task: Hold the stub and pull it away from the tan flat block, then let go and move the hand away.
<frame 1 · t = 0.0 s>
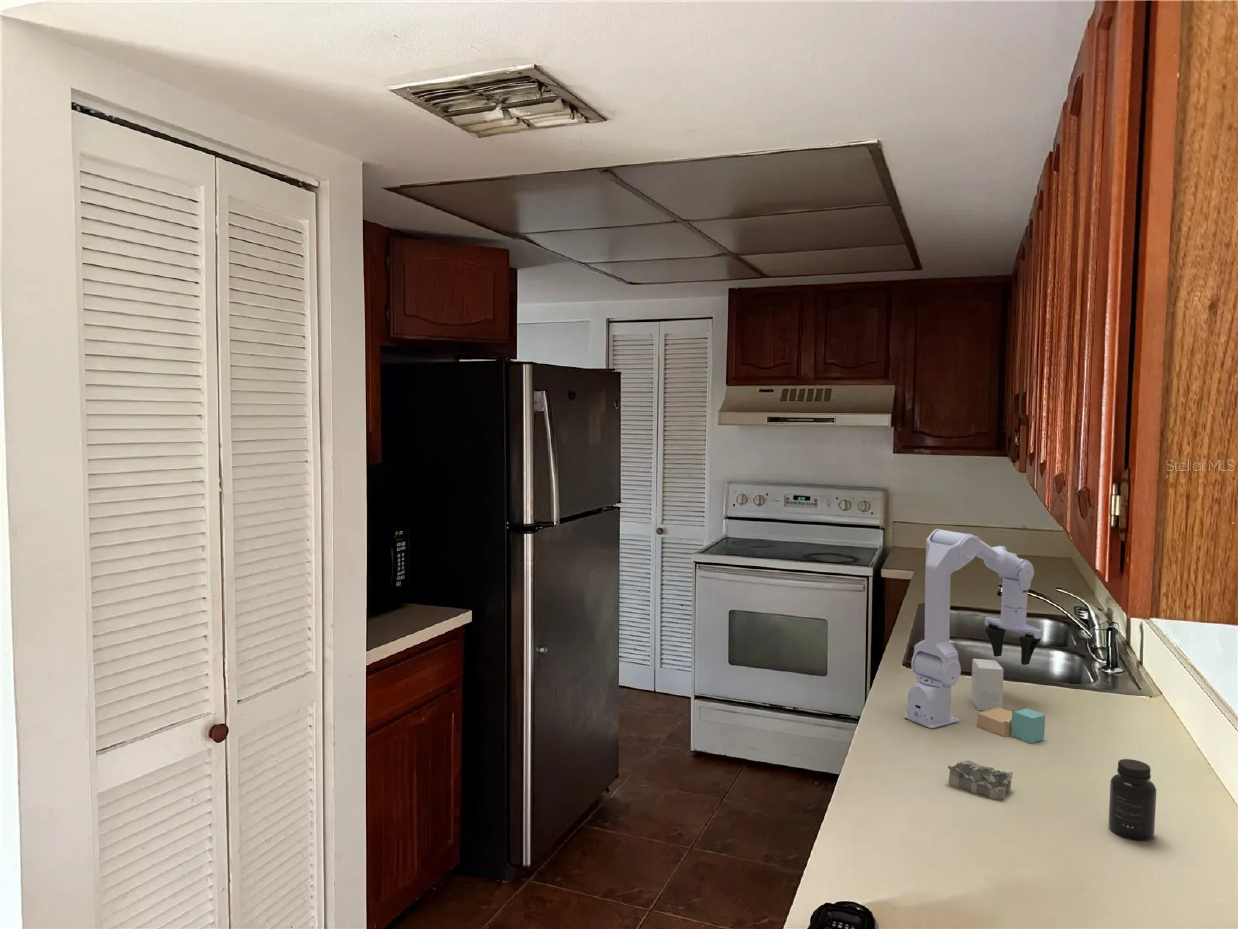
hand: (1011, 660, 212), 10 cm above the counter, fingers open, 7 cm apart
small box: (985, 706, 208), on the counter
stub: (1028, 725, 188), point 3 cm above the counter, slide at 0.0 cm
egg carton: (979, 789, 164), on the counter
supplement bottle: (1130, 833, 147), on the counter
tan flat block: (1001, 728, 194), on the counter
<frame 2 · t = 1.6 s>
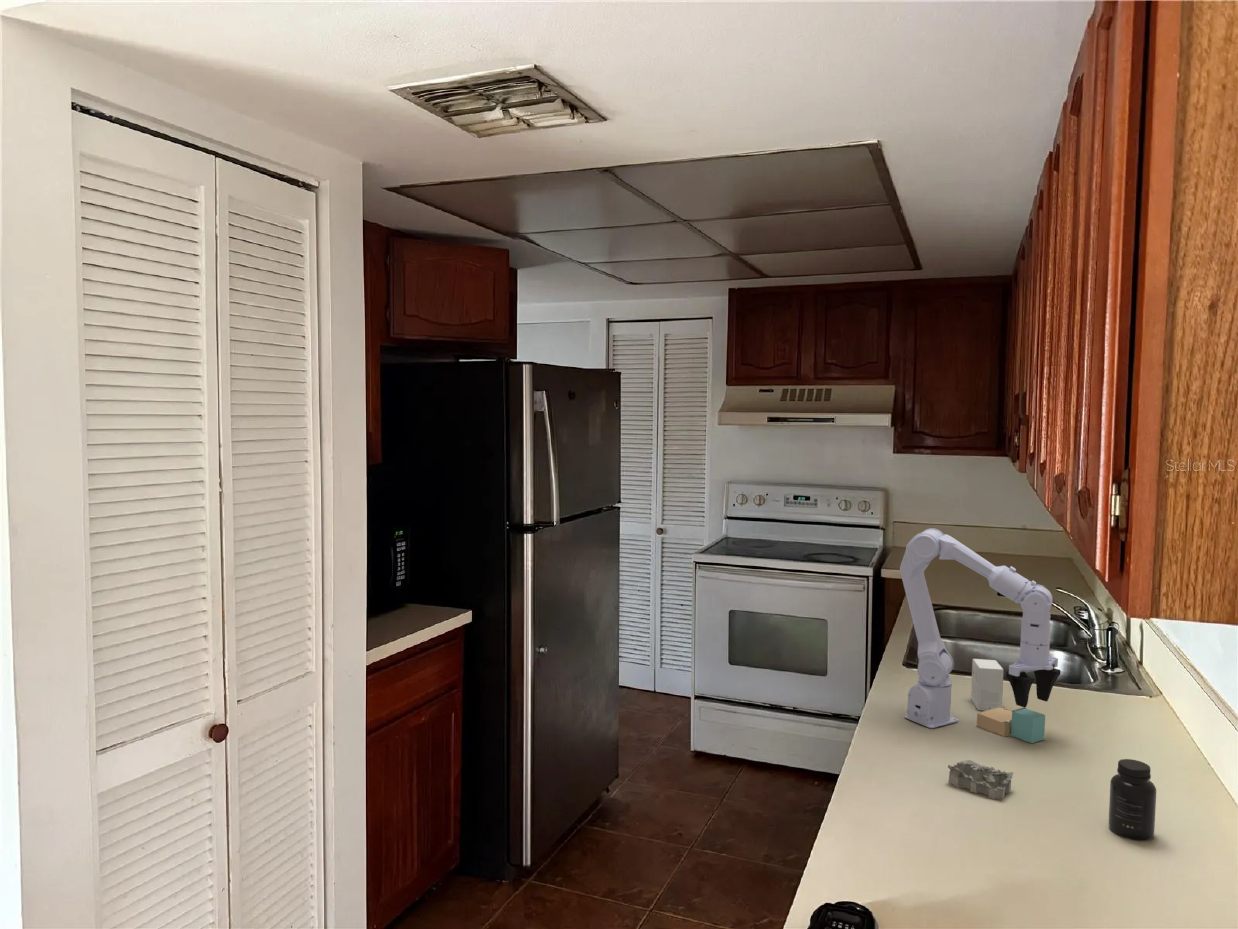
hand: (1031, 703, 187), 8 cm above the counter, fingers open, 7 cm apart
nothing on the counter moved.
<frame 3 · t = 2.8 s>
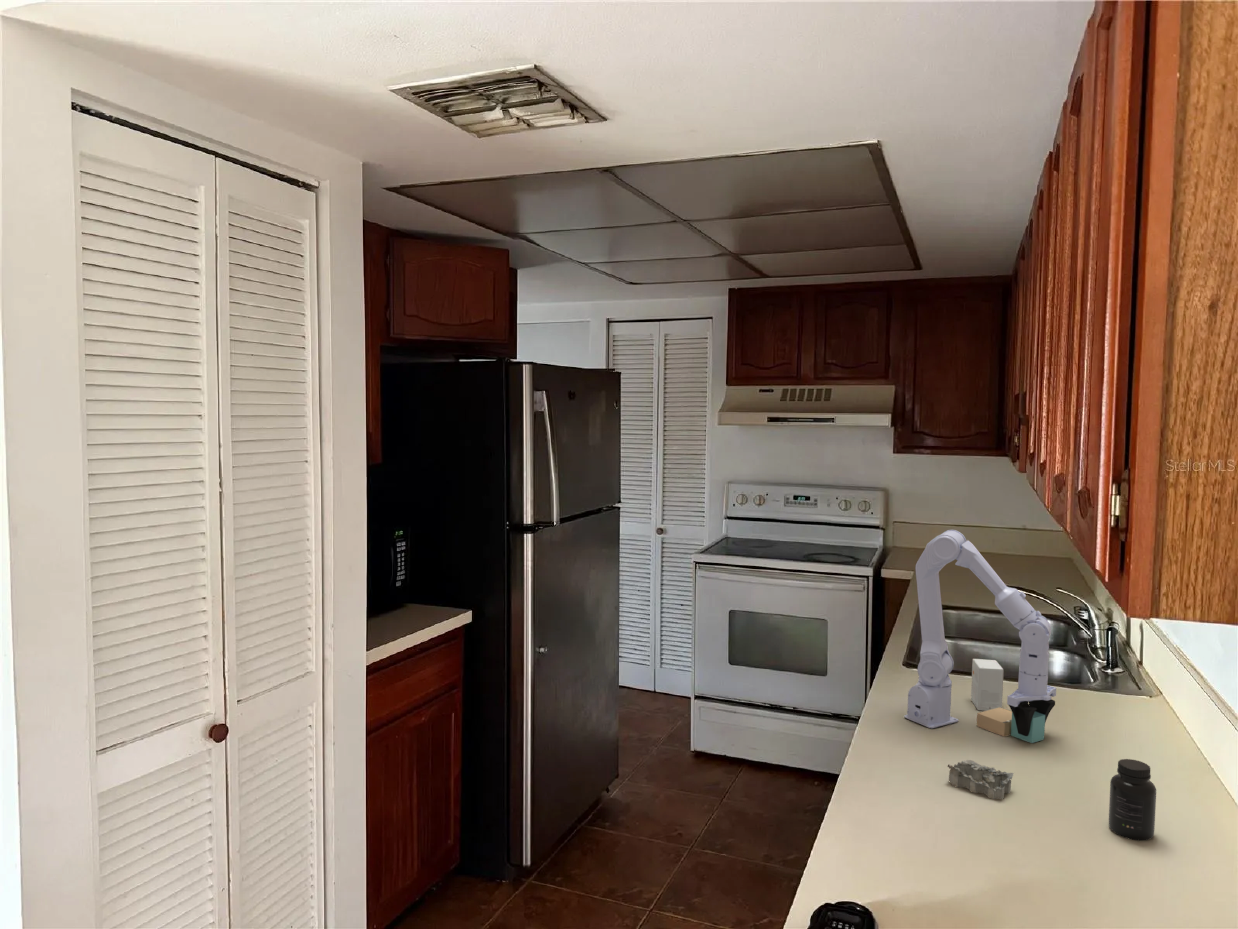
hand: (1030, 732, 188), 1 cm above the counter, fingers closed on stub, 4 cm apart
stub: (1028, 725, 188), point 3 cm above the counter, slide at 0.0 cm, touching gripper
everything else where it was.
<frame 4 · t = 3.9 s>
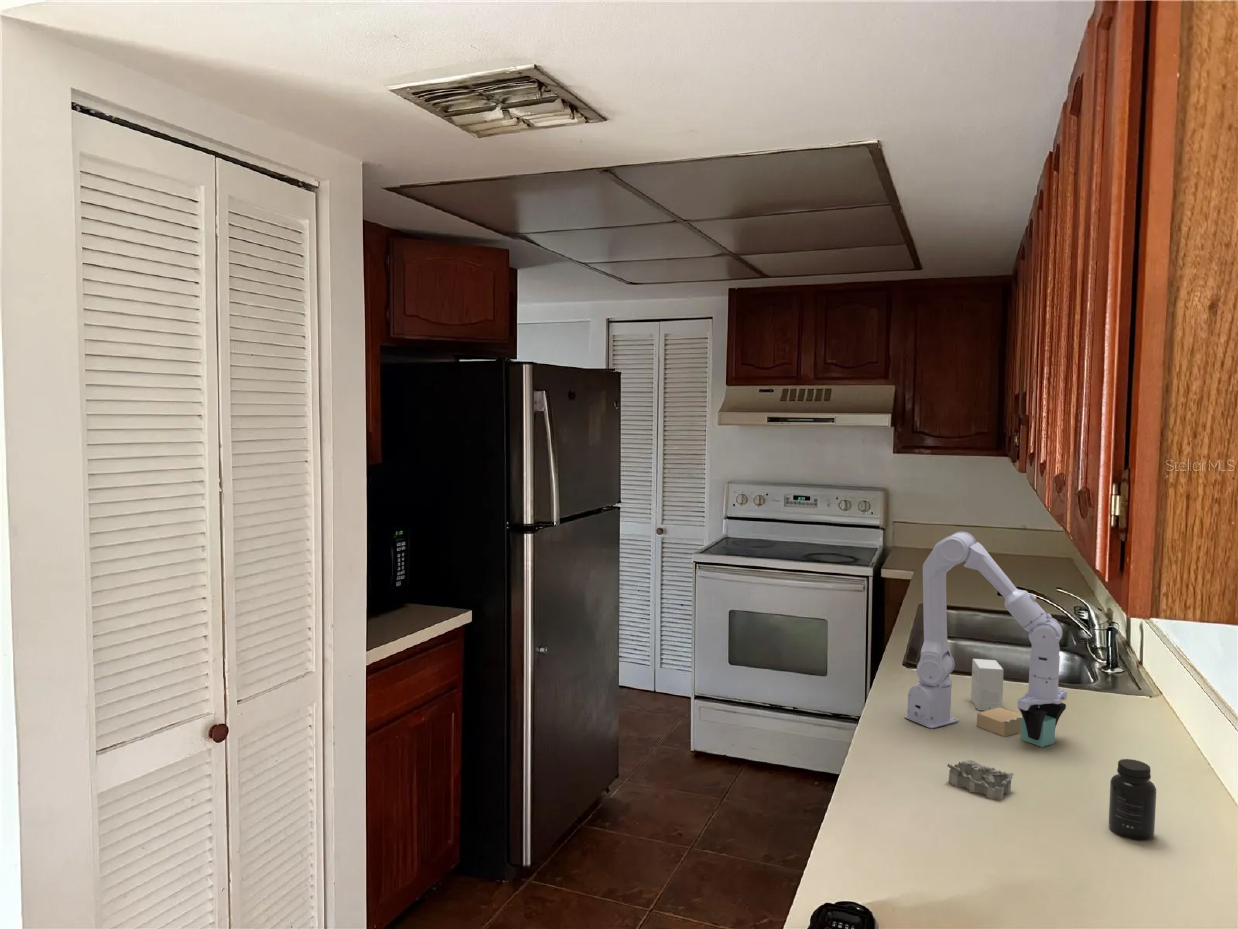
hand: (1040, 736, 186), 1 cm above the counter, fingers closed on stub, 4 cm apart
stub: (1038, 728, 186), point 3 cm above the counter, slide at 2.4 cm, touching gripper
everything else where it was.
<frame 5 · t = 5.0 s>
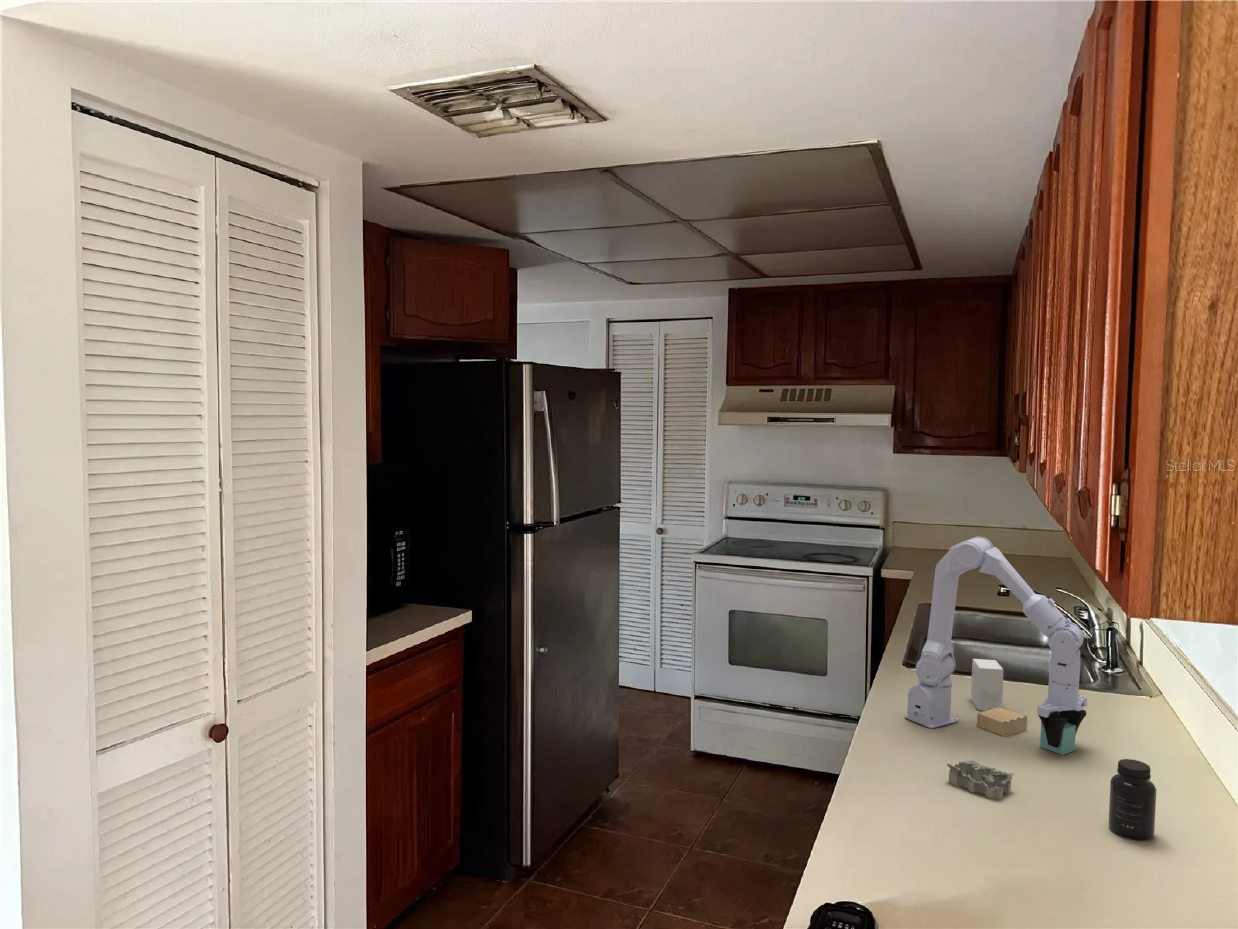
hand: (1060, 743, 182), 1 cm above the counter, fingers closed on stub, 4 cm apart
stub: (1057, 735, 182), point 3 cm above the counter, slide at 6.9 cm, touching gripper
everything else where it was.
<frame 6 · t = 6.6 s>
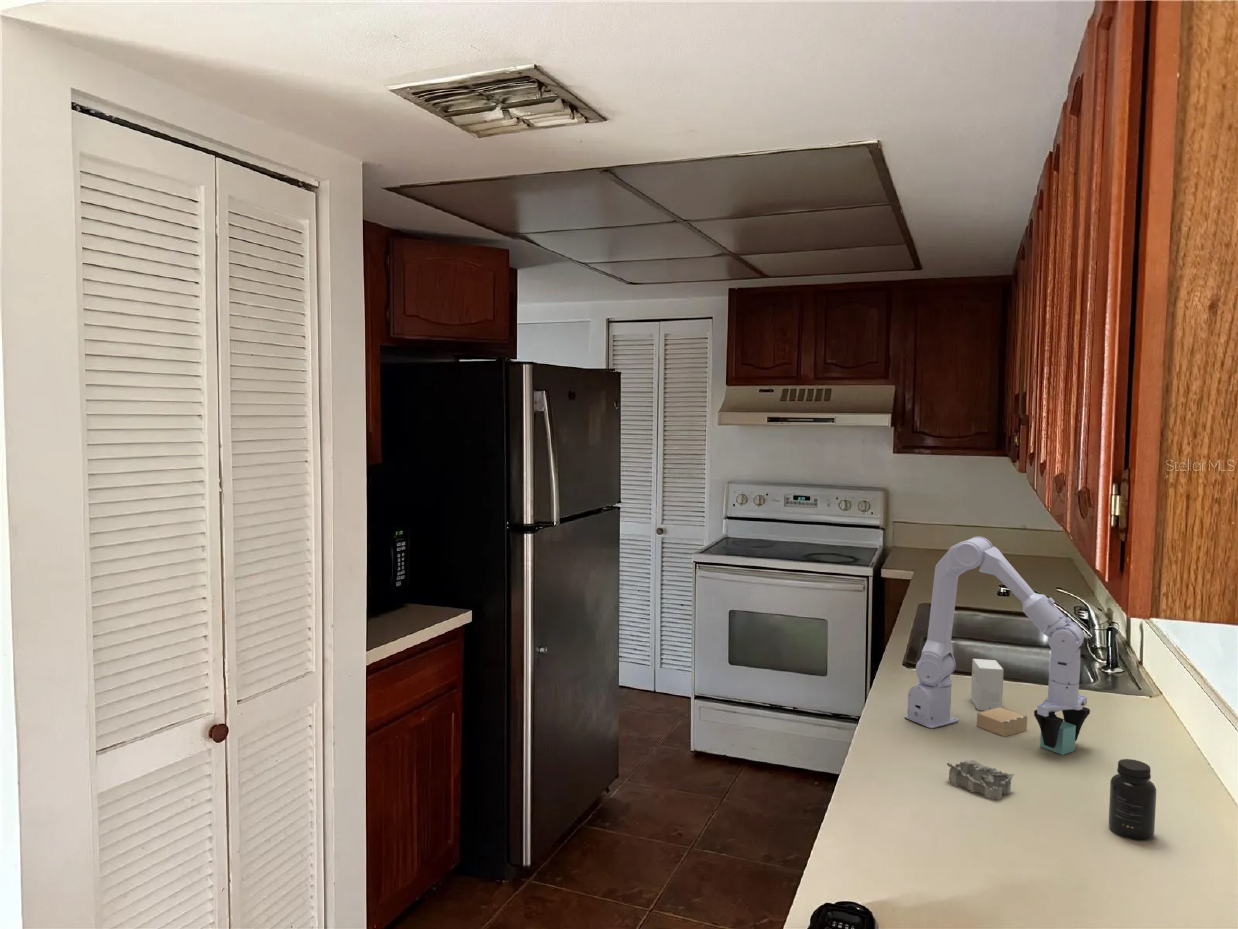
hand: (1060, 743, 182), 2 cm above the counter, fingers open, 7 cm apart
stub: (1057, 735, 182), point 3 cm above the counter, slide at 6.9 cm
everything else where it was.
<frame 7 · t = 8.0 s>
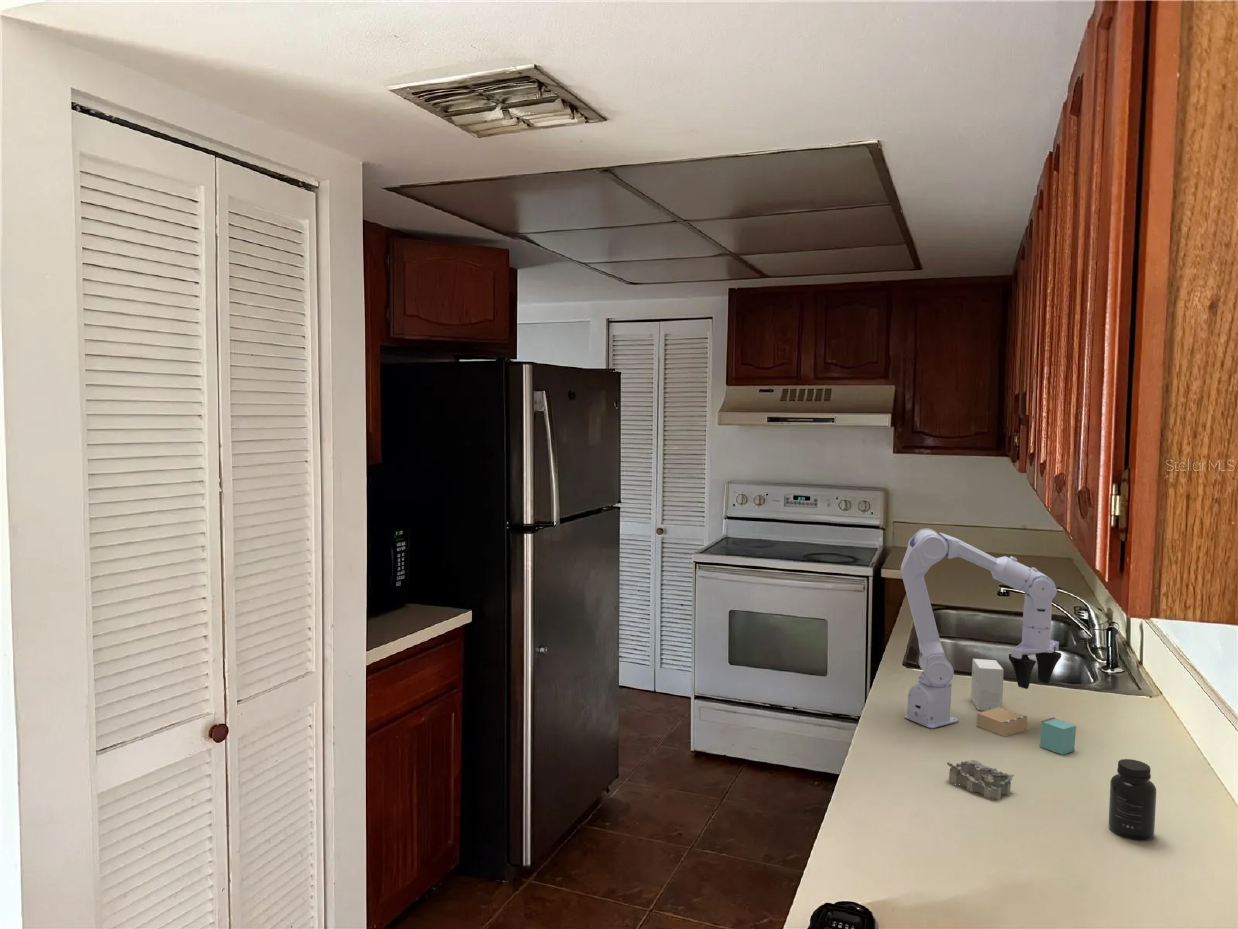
hand: (1033, 684, 194), 10 cm above the counter, fingers open, 7 cm apart
nothing on the counter moved.
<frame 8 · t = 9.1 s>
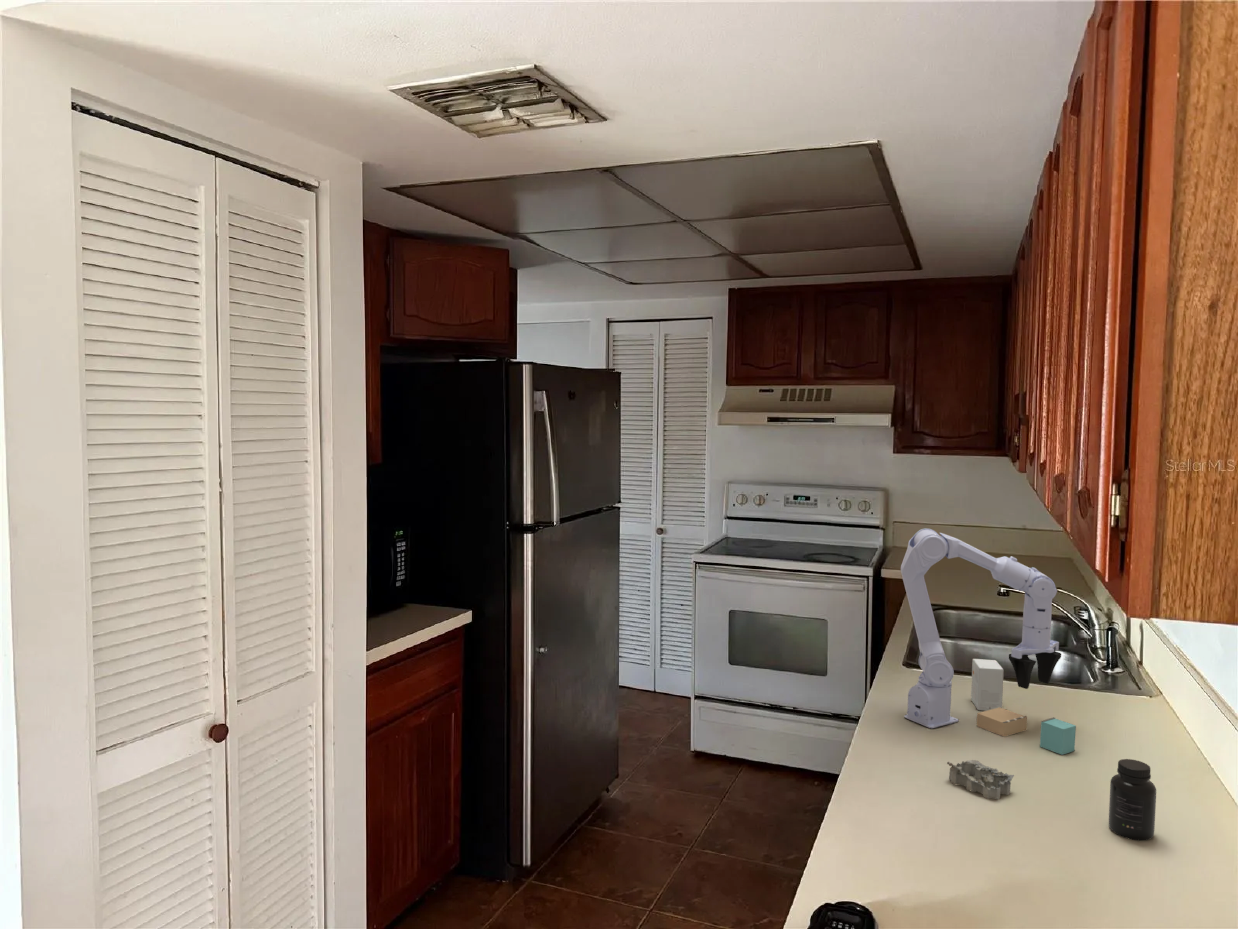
hand: (1033, 684, 194), 10 cm above the counter, fingers open, 7 cm apart
nothing on the counter moved.
at the end: stub slide at 6.9 cm; stub touching nothing; the gripper is holding nothing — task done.
